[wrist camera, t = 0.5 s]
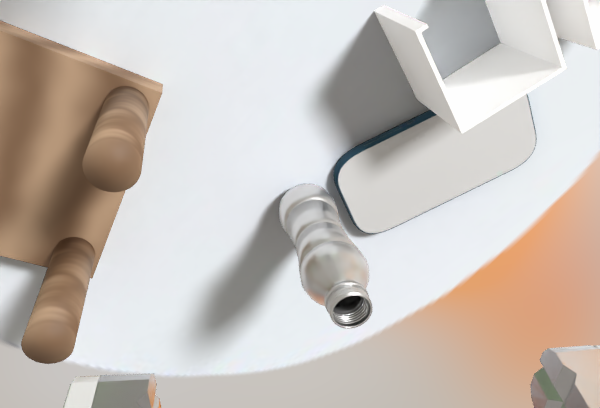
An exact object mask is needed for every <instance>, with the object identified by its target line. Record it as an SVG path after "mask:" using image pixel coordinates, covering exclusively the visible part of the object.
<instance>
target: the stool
mask: <svg viewBox="0 0 600 408" xmlns="http://www.w3.org/2000/svg"><path fill="white" fill-rule="evenodd" d="M162 87H163V84H161V83H158V82H156V81H153V80H150V79H148V78H145V77H143V76H140V75H138V74H135V73H133V72H130V71H127V70H125V69H122V68H120V67H117V66H115V65H112V64H110V63H107V62H105V61H102V60H99V59H97V58H94V57H92V56H89V55H87V54H84V53H82V52H79V51H76V50H74V49H71V48H69V47H66V46H64V45H61V44H59V43H56V42H54V41H51V40H48V39H46V38H43V37H41V36H38V35H36V34H33V33H31V32H28V31H25V30H23V29H20V28H18V27H15V26H13V25H10V24H8V23H5V22H3V21H0V256H4V257H8V258H12V259H16V260H20V261H24V262H28V263H32V264H36V265H40V266H44V267H48V269H47V271H46V274H45V277H44V280H43V283H42V285H41V288H40V291H39V294H38V297H37V299H36V302H35V305H34V308H33V311H32V313H31V316H30V319H29V322H28V325H27V327H26V330H25V333H24V336H23V339H22V342H21V346H22V350H23V352H24V353H25V355H26V356H27V357H29V358H30V359H32V360H34V361H36V362H40V363H45V364H50V363H57V362H60V361H63V360H65V359H66V358H67V357H69V356H70V355H71V353H72V352H73V349H74V345H75V341H76V336H77V332H78V328H79V323H80V319H81V315H82V310H83V306H84V302H85V297H86V293H87V289H88V284H89V280H90V278H93V275H94V272H95V270H96V267H97V264H98V262H99V259H100V256H101V254H102V251H103V248H104V246H105V243H106V240H107V238H108V235H109V232H110V230H111V227H112V225H113V222H114V219H115V217H116V214H117V211H118V209H119V206H120V203H121V201H122V198H123V195H124V193H125V190H127V189H129V188H131V187H132V186H133V185H134V184H135V183H136V182H137V181H138V179H139V177H140V174H141V169H142V161H143V153H144V145H145V138H146V134H147V132H148V129H149V126H150V124H151V121H152V118H153V116H154V113H155V110H156V108H157V105H158V103H159V100H160V97H161V95H162Z"/></svg>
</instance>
